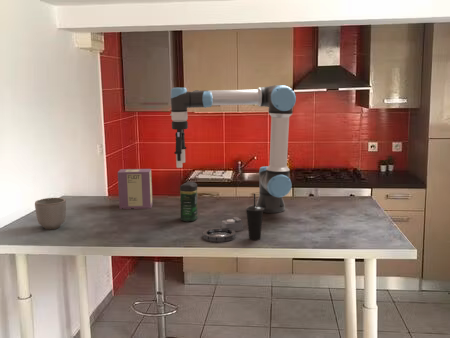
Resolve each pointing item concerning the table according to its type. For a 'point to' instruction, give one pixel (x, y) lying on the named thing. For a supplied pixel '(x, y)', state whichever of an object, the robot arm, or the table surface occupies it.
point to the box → (135, 188)
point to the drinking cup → (254, 220)
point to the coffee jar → (189, 201)
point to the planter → (51, 212)
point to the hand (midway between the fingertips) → (181, 165)
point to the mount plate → (219, 234)
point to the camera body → (233, 224)
